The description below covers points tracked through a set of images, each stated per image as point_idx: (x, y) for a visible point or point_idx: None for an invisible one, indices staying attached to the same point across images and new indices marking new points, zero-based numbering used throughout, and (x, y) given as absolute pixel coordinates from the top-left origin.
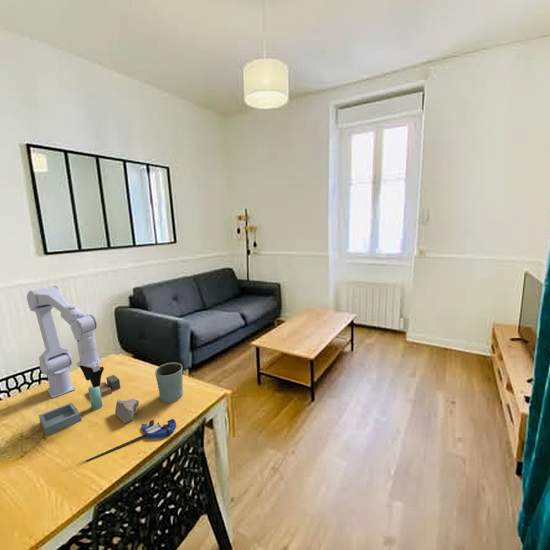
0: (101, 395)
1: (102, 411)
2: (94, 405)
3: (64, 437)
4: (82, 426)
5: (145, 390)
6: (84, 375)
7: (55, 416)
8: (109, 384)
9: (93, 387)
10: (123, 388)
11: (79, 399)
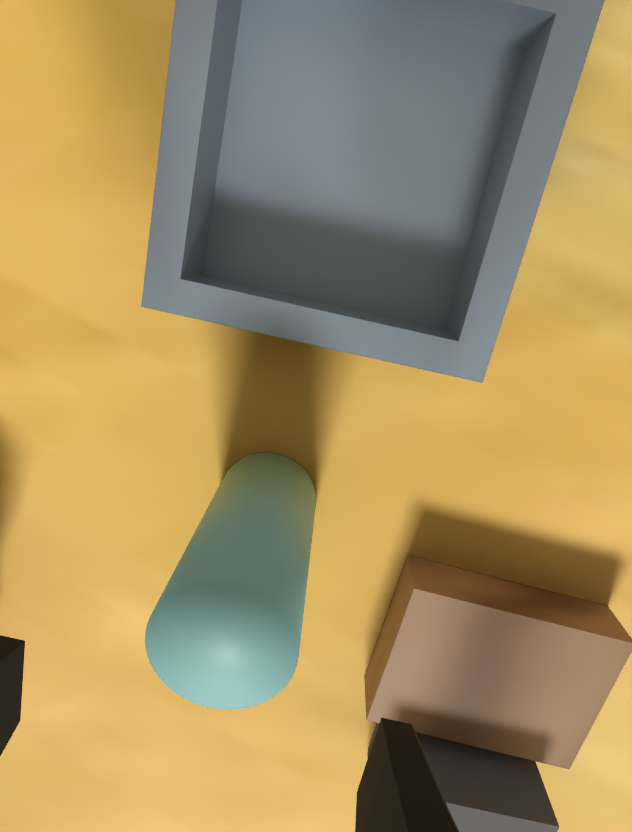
0: (392, 617)
1: (145, 479)
2: (224, 482)
3: (27, 50)
4: (63, 252)
5: (130, 804)
6: (425, 822)
7: (488, 176)
8: (466, 755)
9: (18, 639)
10: (337, 759)
11: (578, 489)
